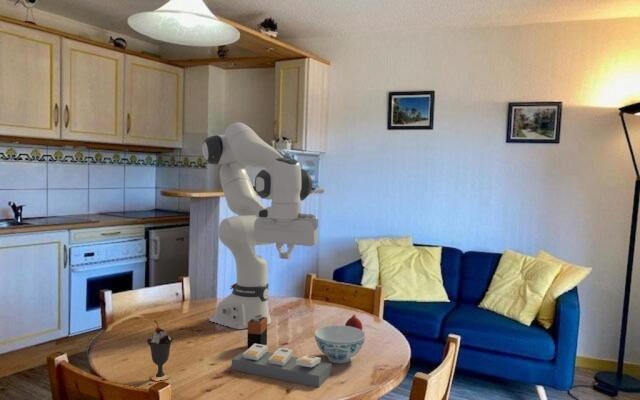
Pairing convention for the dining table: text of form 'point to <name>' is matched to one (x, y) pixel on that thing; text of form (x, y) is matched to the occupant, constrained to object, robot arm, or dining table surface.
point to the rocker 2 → (281, 356)
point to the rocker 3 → (308, 361)
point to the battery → (257, 331)
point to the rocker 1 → (255, 351)
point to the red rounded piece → (354, 322)
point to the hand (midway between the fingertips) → (284, 258)
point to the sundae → (160, 348)
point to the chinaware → (339, 342)
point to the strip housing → (284, 369)
